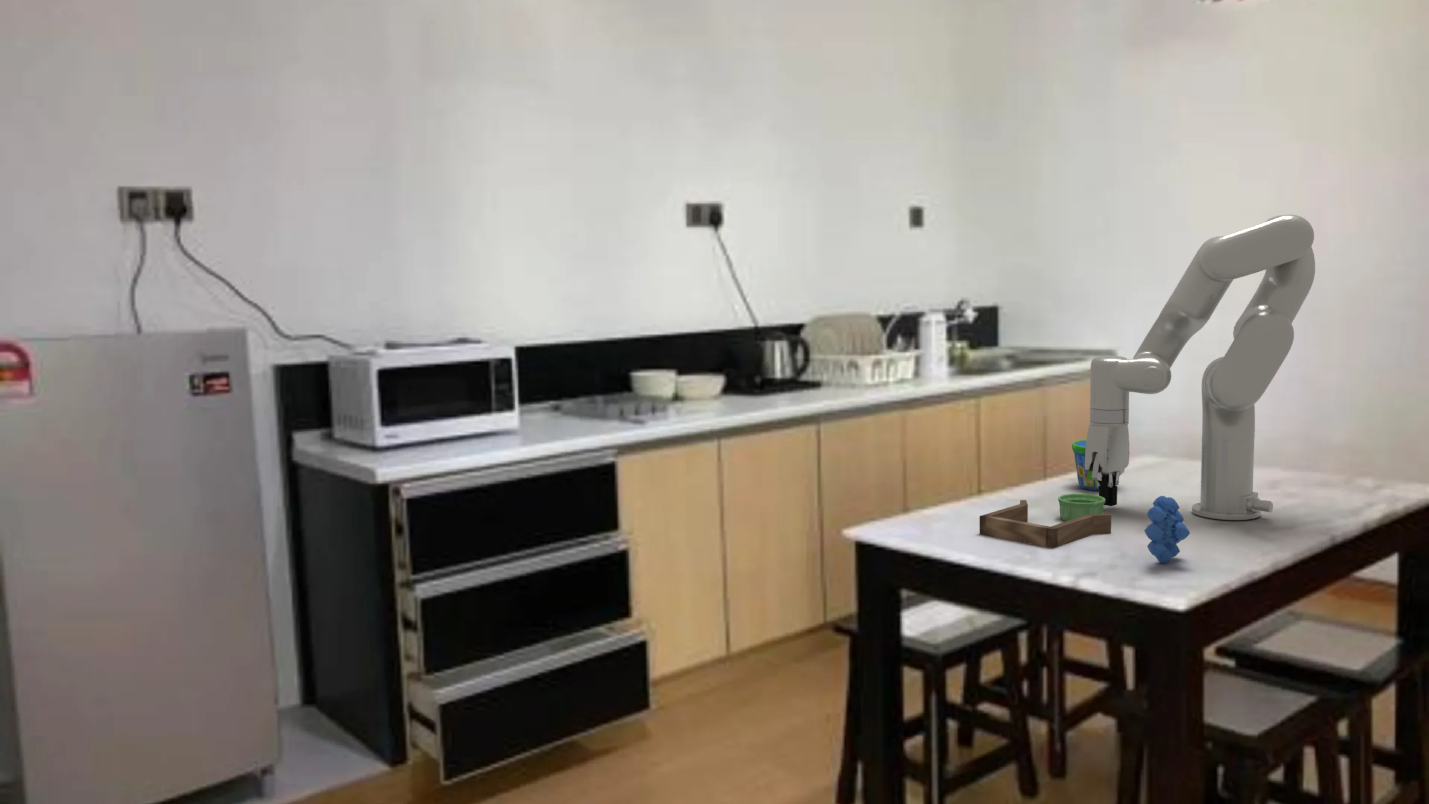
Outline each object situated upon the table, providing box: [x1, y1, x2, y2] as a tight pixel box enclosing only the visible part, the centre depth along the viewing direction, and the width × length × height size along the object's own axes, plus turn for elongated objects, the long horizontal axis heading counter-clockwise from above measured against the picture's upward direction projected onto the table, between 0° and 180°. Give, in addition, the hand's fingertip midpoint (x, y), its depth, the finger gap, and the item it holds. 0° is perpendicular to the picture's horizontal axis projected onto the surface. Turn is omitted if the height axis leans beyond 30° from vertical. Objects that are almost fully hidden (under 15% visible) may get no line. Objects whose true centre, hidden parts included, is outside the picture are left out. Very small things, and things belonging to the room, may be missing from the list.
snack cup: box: [1071, 439, 1102, 491], centre depth 255 cm, size 16×10×10 cm
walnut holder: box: [979, 499, 1112, 549], centre depth 218 cm, size 20×17×4 cm
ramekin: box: [1057, 493, 1105, 522], centre depth 227 cm, size 9×9×4 cm
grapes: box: [1144, 495, 1191, 564], centre depth 194 cm, size 12×7×12 cm, turn 136°
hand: (1107, 504), depth 234 cm, fingers closed
